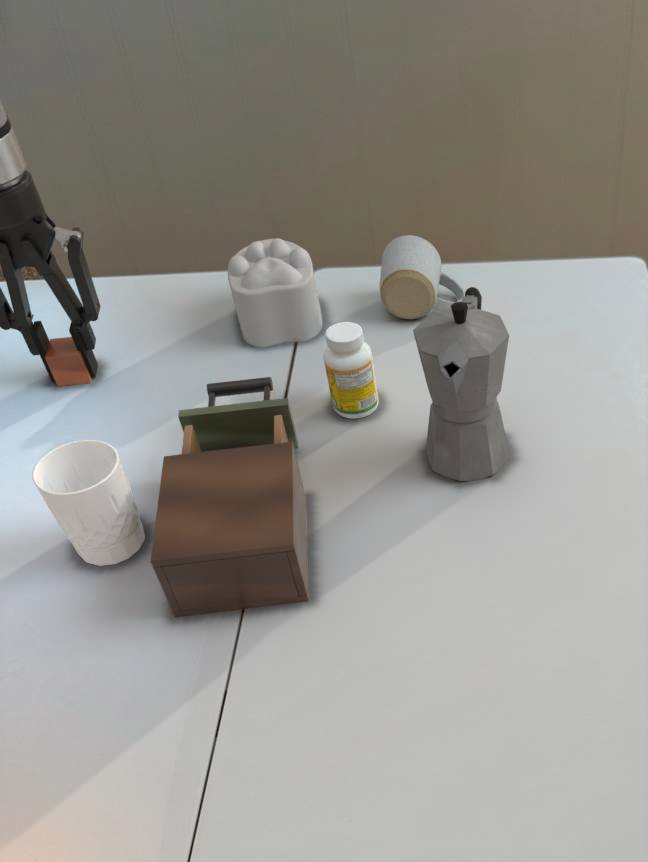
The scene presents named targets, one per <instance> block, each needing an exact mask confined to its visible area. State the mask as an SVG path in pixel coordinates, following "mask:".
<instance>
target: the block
mask: <svg viewBox="0 0 648 862" xmlns="http://www.w3.org/2000/svg"><path fill="white" fill-rule="evenodd" d="M49 341H50V343H49V347H48V350H47V354H46V355H45V359H46V362H47V364H48V366H49V368H50V370H51V373H52V375H53V377H54V379H55V382H54V383H55V384H56V387H66V386H76V385H85V384H86V385H87V384H92V380H93V378H91V376H90V374H89V371H88V369H87V366H86V364H85V362H84V359H83V357H82V354H81V352H80V351H77V348H76V346H75V344H74V341H73V339H72V336H68V337H67V336H66V337H56V338H50V339H49Z"/></svg>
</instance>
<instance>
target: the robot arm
mask: <svg viewBox="0 0 648 862" xmlns="http://www.w3.org/2000/svg"><path fill="white" fill-rule="evenodd" d="M23 153H24V152H23V151H22V149H21V145H20V143H19V141H18V138H17V135H16V134H15V131H14V128H13V126H12V124H11V122H10V119H9V117H8V115H7V113H6V111H5V109H4V106H3V104H2V100H1V99H0V267H1V272H2V276H3V279H5V283H6V286H7V291H8V296H9V299H10V303H11V305H10V303H9V301H8V299H7V297H6V295H5V293H4V292H3V290H2V288H1V287H0V329H2V330H4V331H8V330H10V329H12V330H16V331H17V332H19V333H20V334H21V335H22V338H23V340H24V342H25V344H26V346H27V348H28V351H29V353H30V354H31V355H32V356H39V357H40V359H41V361H42V364H43V366H44V367H45V370H46V372H47V375H48V376H49V379H50V382H52V383H56V382H55V379H54V377H53V375H52V373H51V370H50V368H49V366H48V364H47V362H46V359H45V355H46V354H47V350H48V347H49V343H50V339H49V336H48V334H47V332H46V329H45V327H44V324H43V323H42V320H36V321H35V320H34V321H33V319H34V316H35V315H34V314H33V313H32V310H31V306H30V301H29V297H28V293H27V288H26V283H25V280H24V275H23V268H25V267H29V268H34V269H35V271H36V272H37V273H38V275H39V276H40V277H42V278H43V279H44V281H45V282H46V285H48V288H50V290H51V291H52V293H53V296H55V298H56V300H57V301H58V303H59V304H60V305H61V307H62V309H63V311H64V312H65V313H66V315H67V317H68V318H69V320H70V325H69V329H68V331H69V334H70V337H72V339H73V341H74V344H75V346H76V348H77V351H80V352H81V354H82V357H83V359H84V362H85V364H86V366H87V369H88V371H89V374H90V376H91V378H92V379H95V378H96V377H97V372H98V368H99V363H98V360H97V358H96V356H95V354H94V351H93V350H95V348H96V344H97V337H96V335H95V332H94V330H93V328H92V324H91V322H97V320H98V319H99V315H100V311H101V302H100V300H99V296H98V293H97V290H96V287H95V284H94V281H93V279H92V278H93V277H92V275H91V271H90V268H89V266H88V262H87V258H86V255H85V252H84V250H83V245H84V244H83V243H84V231H83V230H82V229H81V228H80V227H73V228H72V229H71V230H70V229H67V228H62V227H59V226H57V225H56V223H55V222H54V220H53V219H51V217H50V216H49V215H48V213H47V212H46V211H45V210H46V209H45V207H44V204H43V201H42V199H41V196H40V194H39V191H38V188H37V186H36V183H35V181H34V178H33V175H32V174H31V172H29V170H27V167H28V163H27V161H26V158H25V156H24V154H23ZM55 240H56V241H57V242H58V243H59V244H60V247H61V250H62V251H63V252H64V253H67V260H68V264H69V267H70V270H71V273H72V276H73V279H74V282H75V285H76V289H77V291H78V295H79V296H78V295H77V293H76V292H75V290H74V289H73V287H72V286H71V284H70V283H69V280H68V279H67V277H66V276H65V274H64V272H63V271H62V269H61V268H60V266H59V264H58V263H57V259H56V256H55V254H54V253H53V251H52V247H53V244H54V241H55Z"/></svg>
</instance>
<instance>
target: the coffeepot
mask: <svg viewBox="0 0 648 862" xmlns="http://www.w3.org/2000/svg"><path fill="white" fill-rule="evenodd" d="M464 292H465V296H463V298H462V301H461V302H457V301H454V302H455V303H453V304H452V305H451V309H448V310H442V311H440V310H438V311H433V312H431V313H430V314H429V315H428V316H427V317H425V319H423V320H422V321H421V322H420V323H419V324H418V325H416V327H414V328H413V330H412V332H413V336H414V341H415V343H416V347H417V351H418V355H419V356H418V357H419V360H420V363H421V367H422V371H423V374H424V375H423V376H424V378H425V383H426V386H427V390H428V393H429V396H430V399H431V401H432V402H431V404H430V406H429V416H428V425H427V433H426V434H427V435H426V443H425V444H426V445H425V452H426V454H427V458H428V463H429V465H430V467H431V470H432V472H434V473H436V474H438V475H440V476H442V477H444V478H446V479H450V480H453V481H459V482H473V481H479V480H483V479H486V478H488V477H491V476H494V475H496V473H498V472H499V471H500V470H501V469H502V468H503V467H504V465H505V464H506V462H507V461H508V459H509V458H510V457H511V453H510V448H509V443H508V440H507V435H506V430H505V425H504V421H503V416H502V412H501V409H500V405H499V402H498V396H499V394H501V391H502V385H503V380H504V374H505V373H504V372H505V366H506V359H507V353H508V347H509V341H510V340H509V339H510V334H509V332H508V330H507V327H506V325H505V323H504V321H503V319H502V317H501V315H500V314H496V313H493V312H489V311H487V310H483V309H482V302H483V301H482V299H483V297H482V295H481V291H480V290H479V289H478V288H477V287H475V286H469V287H468V288H467V289H466V290H465V291H464Z"/></svg>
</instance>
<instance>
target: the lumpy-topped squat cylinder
mask: <svg viewBox="0 0 648 862" xmlns="http://www.w3.org/2000/svg"><path fill="white" fill-rule="evenodd" d="M227 266H228V267H227V280H228V284H229V288H230V289H229V290H230V292H231V296H232V300H233V304H234V308H235V311H236V315H237V319H238V322H239V326H240V330H241V334H242V338H243V339H244V341H245V342H246V344H248V345H250V346H254V347H256V348H267V347H271V346H276V345H281V344H286V343H297V342H298V343H299V342H305V341H309V340H311V339H313V338H315V337H316V336H317V335H318V334H319V333H321V330H322V328H323V314H322V309H321V303H320V299H319V293H318V288H317V281H316V277H315V271H314V266H313V261H312V258H311V255H310V253H309V252H308V251H307V250H306V249H305V248H303V247H302V246H299V245H298V244H296V243H294V242H291V241H288V240H283V239H281V238H279V237H277V238H267V239H263V240H255V241H253V242H250V244H249V245H247V246H245V247H243V248H241V249H240V250H239V251H238V252H237V253H235V255H233V256H232V257H231V258H230V259H229V261H228V265H227Z"/></svg>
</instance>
